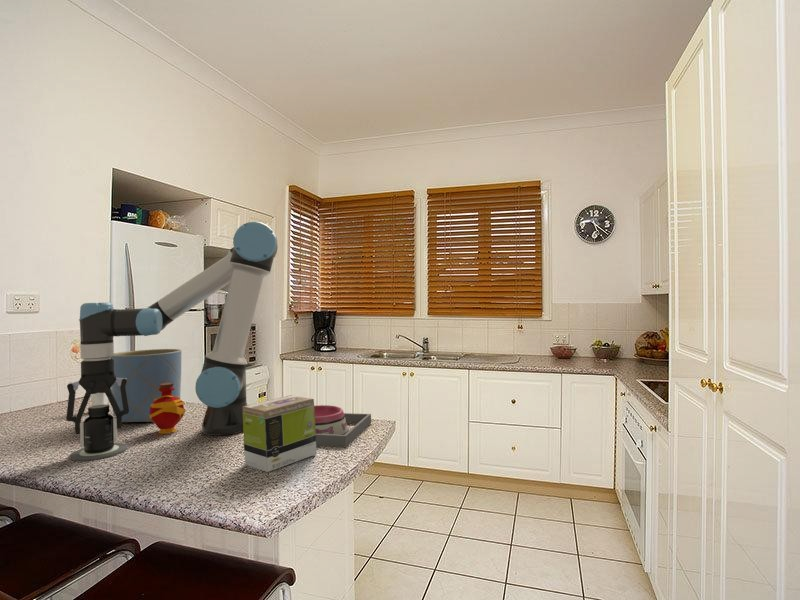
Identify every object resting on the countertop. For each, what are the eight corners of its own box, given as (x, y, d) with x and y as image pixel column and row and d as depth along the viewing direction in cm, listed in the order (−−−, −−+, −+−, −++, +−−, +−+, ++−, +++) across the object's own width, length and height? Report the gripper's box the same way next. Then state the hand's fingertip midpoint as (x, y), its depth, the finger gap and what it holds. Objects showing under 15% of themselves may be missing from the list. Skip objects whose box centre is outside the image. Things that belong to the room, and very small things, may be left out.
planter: (136, 410, 173) (135, 349, 173) (194, 409, 172) (193, 348, 172) (94, 426, 150) (92, 356, 150) (160, 425, 149) (158, 355, 149)
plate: (138, 446, 127) (138, 443, 127) (98, 462, 114) (98, 459, 114) (100, 444, 130) (100, 441, 130) (57, 459, 117) (57, 457, 117)
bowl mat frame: (371, 423, 145) (370, 413, 145) (346, 446, 121) (345, 435, 121) (302, 420, 150) (301, 411, 150) (265, 443, 127) (265, 432, 127)
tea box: (293, 448, 121) (291, 393, 122) (317, 455, 115) (315, 398, 115) (243, 464, 110) (241, 404, 110) (266, 473, 103) (265, 409, 104)
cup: (113, 410, 174) (113, 381, 174) (94, 414, 168) (94, 384, 168) (105, 408, 177) (104, 380, 177) (86, 412, 172) (85, 383, 172)
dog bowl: (360, 429, 139) (360, 407, 139) (318, 446, 124) (318, 421, 124) (317, 421, 149) (317, 401, 149) (273, 436, 134) (273, 413, 134)
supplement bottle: (78, 455, 118) (77, 409, 118) (93, 446, 125) (92, 404, 125) (105, 453, 119) (104, 408, 119) (119, 445, 126) (118, 402, 126)
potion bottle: (144, 437, 135) (143, 388, 135) (153, 428, 145) (152, 382, 145) (182, 434, 138) (181, 385, 138) (189, 425, 148) (188, 380, 148)
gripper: (139, 354, 130) (141, 433, 130) (54, 360, 121) (56, 446, 120) (139, 357, 124) (141, 440, 124) (49, 363, 114) (51, 453, 114)
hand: (99, 443), depth 122 cm, fingers closed on supplement bottle, 7 cm apart
